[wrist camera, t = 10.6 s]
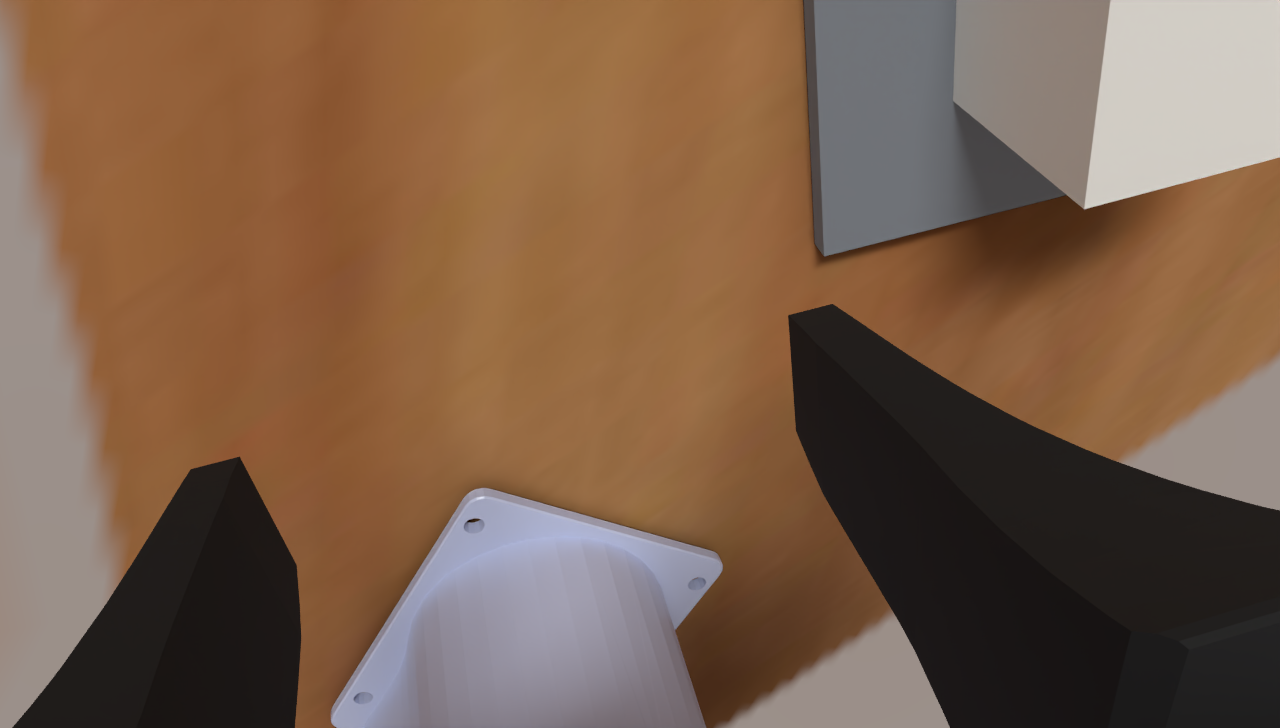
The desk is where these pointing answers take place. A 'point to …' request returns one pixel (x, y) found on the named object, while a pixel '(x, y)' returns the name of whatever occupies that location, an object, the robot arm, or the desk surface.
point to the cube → (1123, 88)
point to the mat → (898, 127)
